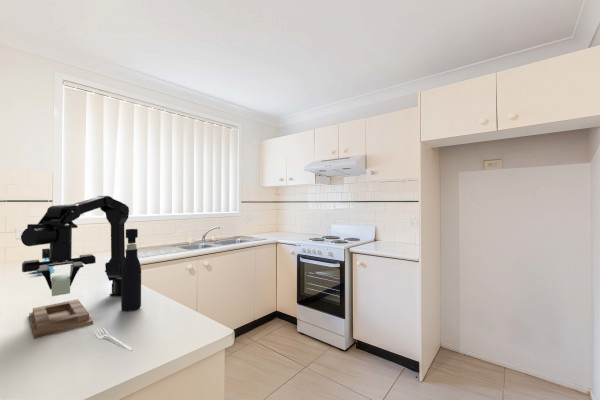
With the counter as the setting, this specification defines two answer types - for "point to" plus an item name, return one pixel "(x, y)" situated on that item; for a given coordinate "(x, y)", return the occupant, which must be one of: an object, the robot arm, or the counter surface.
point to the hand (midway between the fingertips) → (60, 287)
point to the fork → (110, 338)
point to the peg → (60, 284)
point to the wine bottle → (131, 275)
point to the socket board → (58, 318)
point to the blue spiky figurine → (49, 268)
